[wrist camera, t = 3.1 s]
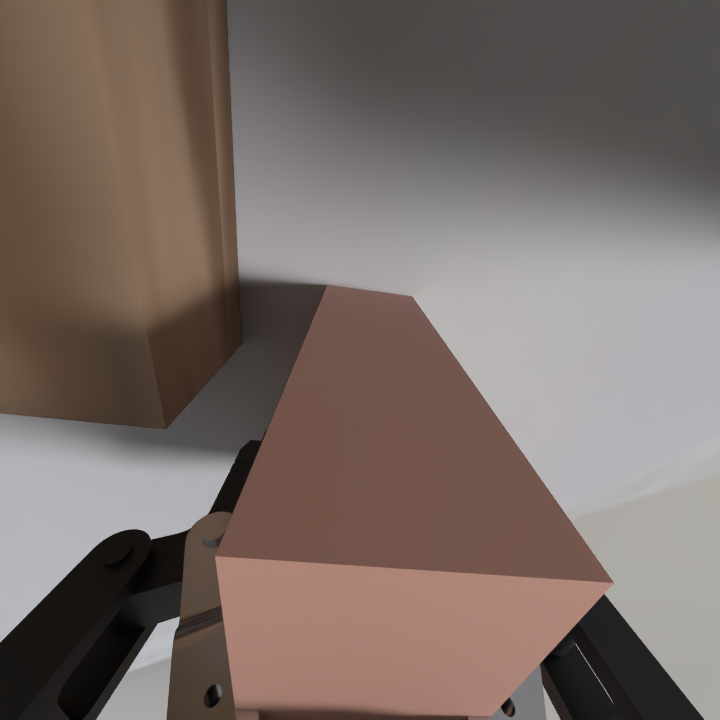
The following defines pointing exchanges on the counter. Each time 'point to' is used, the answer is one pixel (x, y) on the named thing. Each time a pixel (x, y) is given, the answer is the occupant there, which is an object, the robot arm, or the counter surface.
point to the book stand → (115, 208)
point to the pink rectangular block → (392, 536)
